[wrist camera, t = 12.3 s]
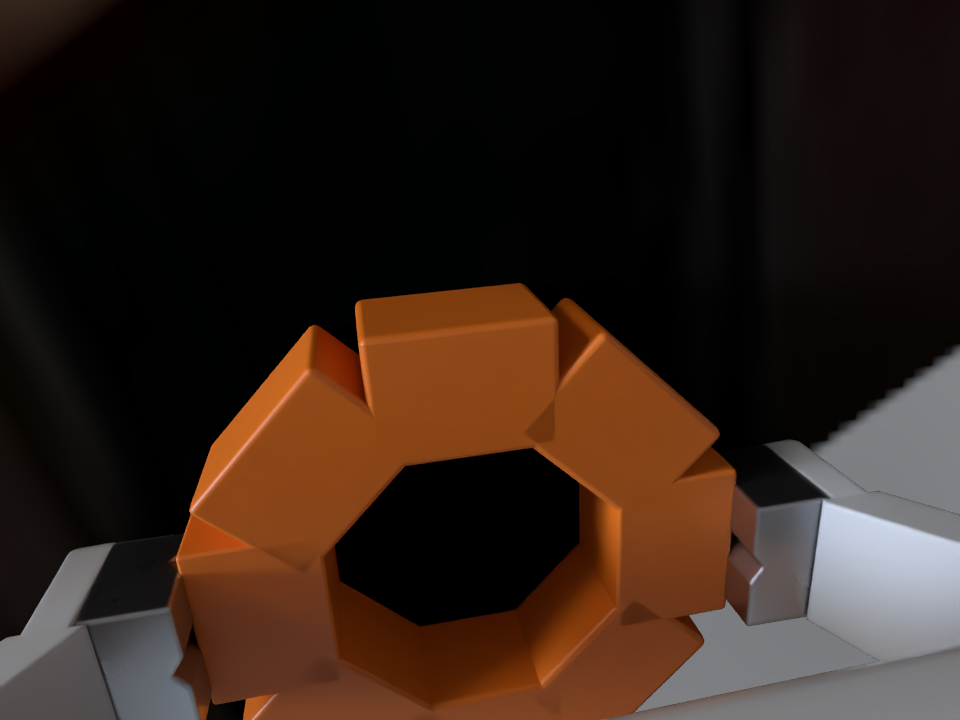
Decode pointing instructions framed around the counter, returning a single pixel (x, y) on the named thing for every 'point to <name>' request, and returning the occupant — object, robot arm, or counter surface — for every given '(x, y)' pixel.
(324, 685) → the orange ring
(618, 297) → the counter surface
